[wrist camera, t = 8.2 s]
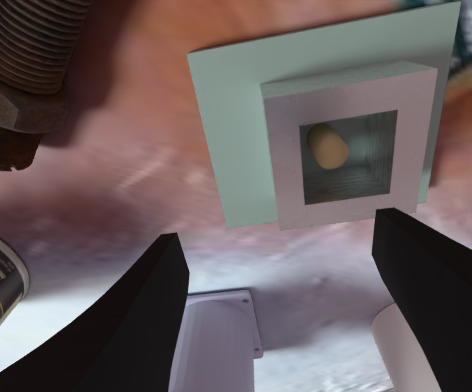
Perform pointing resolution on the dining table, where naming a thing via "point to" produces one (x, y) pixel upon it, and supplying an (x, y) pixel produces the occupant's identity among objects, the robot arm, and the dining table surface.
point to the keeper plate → (298, 65)
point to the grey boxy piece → (376, 149)
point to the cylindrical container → (402, 353)
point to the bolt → (34, 72)
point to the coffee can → (11, 280)
